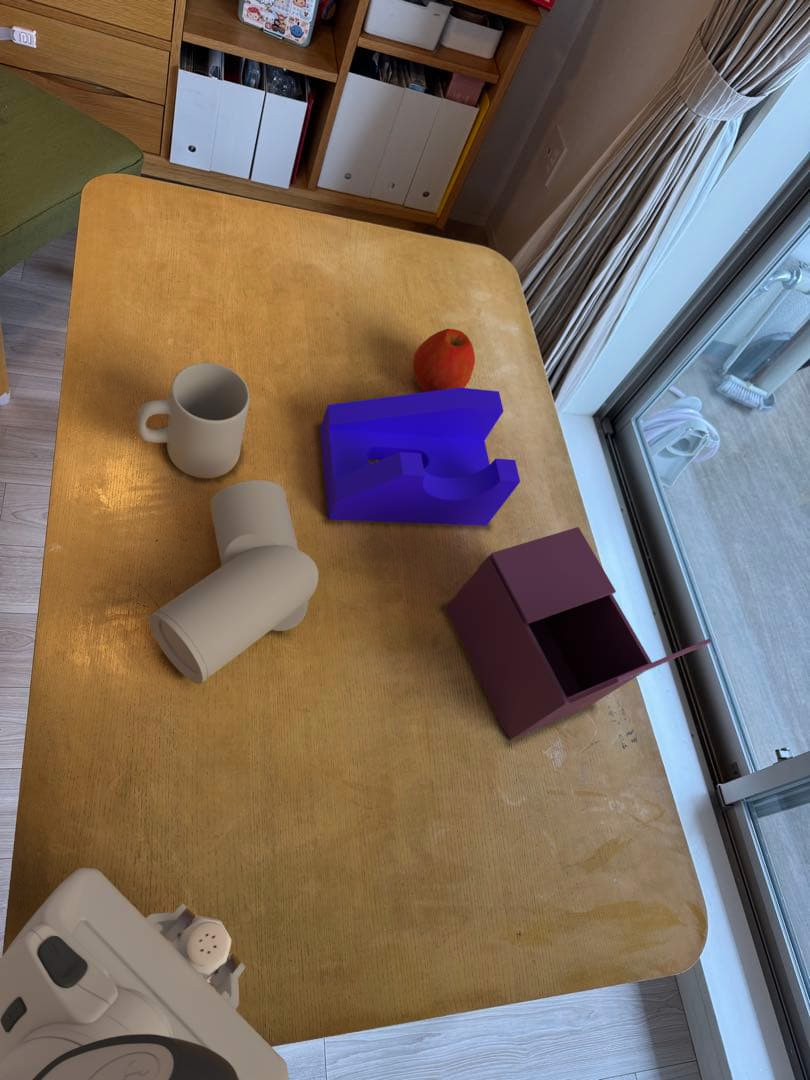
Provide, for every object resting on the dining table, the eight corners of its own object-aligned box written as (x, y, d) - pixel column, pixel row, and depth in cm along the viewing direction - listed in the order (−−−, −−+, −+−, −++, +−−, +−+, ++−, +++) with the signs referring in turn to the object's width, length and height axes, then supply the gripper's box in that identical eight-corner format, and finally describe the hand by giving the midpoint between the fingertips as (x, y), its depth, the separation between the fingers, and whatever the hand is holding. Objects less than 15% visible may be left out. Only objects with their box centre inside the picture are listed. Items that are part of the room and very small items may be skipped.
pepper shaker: (158, 923, 63) (162, 911, 54) (226, 906, 65) (241, 892, 56) (166, 998, 60) (171, 999, 51) (236, 978, 62) (253, 976, 53)
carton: (590, 705, 92) (658, 663, 80) (509, 740, 87) (569, 701, 75) (524, 582, 98) (578, 525, 86) (444, 608, 92) (490, 552, 81)
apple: (394, 385, 108) (417, 331, 99) (424, 355, 112) (449, 301, 103) (441, 420, 107) (469, 368, 98) (470, 388, 112) (499, 336, 103)
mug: (231, 419, 97) (242, 360, 88) (246, 476, 93) (258, 420, 84) (131, 425, 92) (131, 363, 83) (142, 485, 88) (143, 427, 79)
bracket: (469, 439, 107) (498, 391, 98) (486, 525, 100) (520, 481, 92) (319, 428, 100) (337, 375, 91) (328, 519, 94) (348, 471, 85)
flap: (656, 662, 80) (658, 665, 80) (568, 699, 75) (570, 703, 75) (709, 638, 73) (712, 642, 73) (616, 677, 68) (618, 682, 68)
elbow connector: (337, 667, 83) (298, 508, 92) (337, 634, 74) (294, 460, 82) (169, 707, 80) (145, 539, 88) (147, 677, 71) (122, 492, 79)
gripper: (257, 1180, 43) (335, 1014, 56) (6, 914, 45) (138, 817, 59) (192, 1245, 44) (283, 1068, 57) (-49, 983, 46) (92, 872, 60)
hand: (208, 939), depth 58 cm, fingers closed on pepper shaker, 4 cm apart
